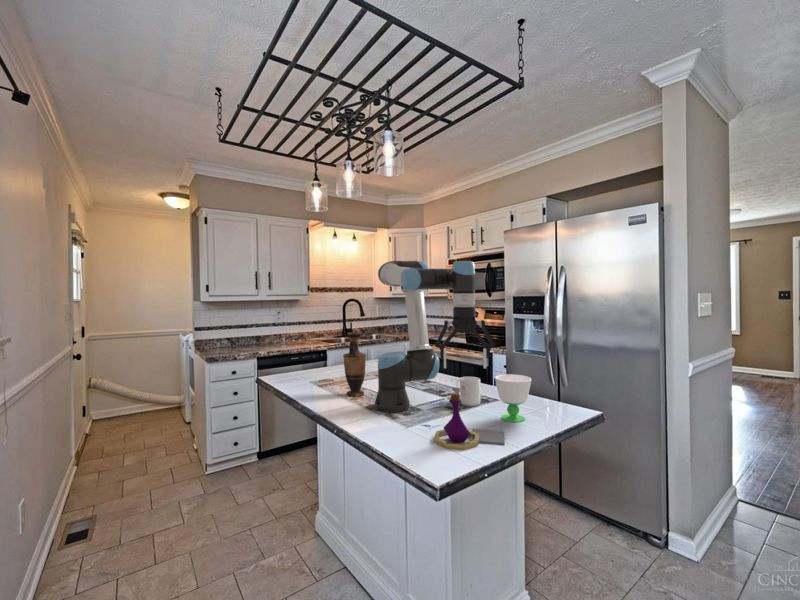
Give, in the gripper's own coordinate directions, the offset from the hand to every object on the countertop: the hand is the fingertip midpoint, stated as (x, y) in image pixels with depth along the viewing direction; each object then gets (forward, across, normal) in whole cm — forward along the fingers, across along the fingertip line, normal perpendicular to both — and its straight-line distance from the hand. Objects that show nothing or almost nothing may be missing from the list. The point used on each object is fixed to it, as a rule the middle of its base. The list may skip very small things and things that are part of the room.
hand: (464, 367), depth 136 cm
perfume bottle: (+24, -3, -5) cm, 24 cm away
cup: (+24, +19, +20) cm, 36 cm away
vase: (+23, -50, +49) cm, 74 cm away
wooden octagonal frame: (+24, -3, -5) cm, 24 cm away
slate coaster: (+24, +7, -1) cm, 25 cm away
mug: (+24, +3, +39) cm, 46 cm away
